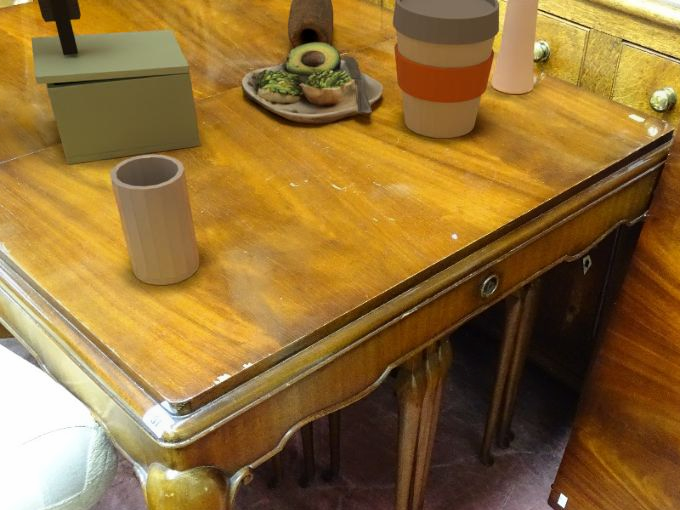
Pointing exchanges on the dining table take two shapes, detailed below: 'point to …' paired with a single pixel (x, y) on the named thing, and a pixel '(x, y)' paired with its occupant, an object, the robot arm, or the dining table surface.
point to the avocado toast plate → (313, 86)
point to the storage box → (124, 116)
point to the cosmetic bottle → (517, 48)
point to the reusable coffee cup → (444, 62)
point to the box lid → (108, 56)
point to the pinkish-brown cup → (156, 218)
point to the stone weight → (310, 22)
